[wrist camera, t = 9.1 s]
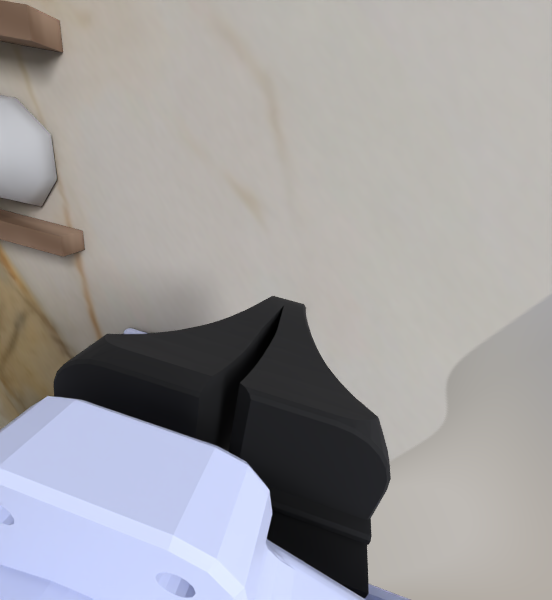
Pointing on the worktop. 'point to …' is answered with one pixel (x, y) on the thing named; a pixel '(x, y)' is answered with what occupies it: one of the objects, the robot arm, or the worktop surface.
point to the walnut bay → (7, 225)
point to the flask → (24, 155)
